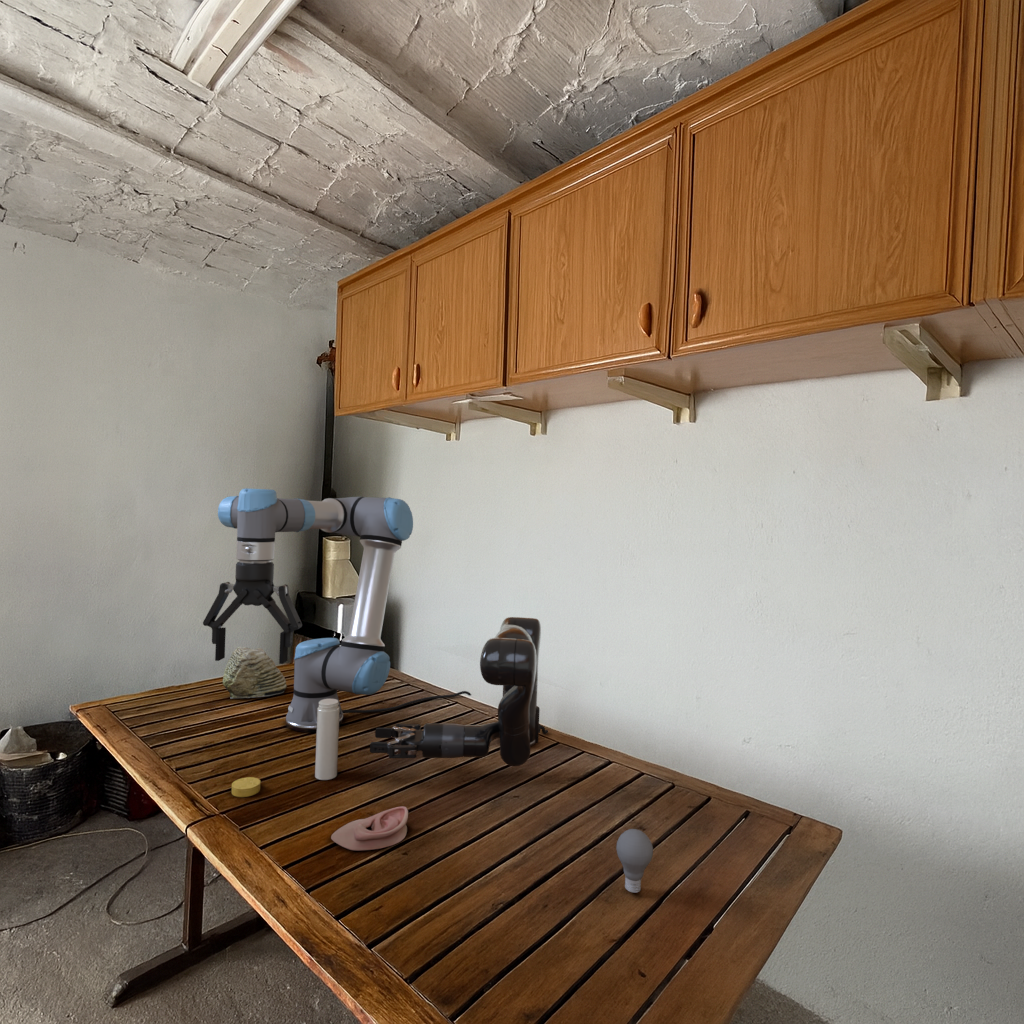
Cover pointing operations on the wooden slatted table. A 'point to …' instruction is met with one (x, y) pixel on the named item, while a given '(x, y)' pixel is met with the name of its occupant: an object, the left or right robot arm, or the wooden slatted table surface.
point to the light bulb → (634, 857)
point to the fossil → (252, 674)
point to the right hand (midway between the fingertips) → (372, 739)
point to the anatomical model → (374, 830)
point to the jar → (327, 739)
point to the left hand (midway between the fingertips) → (251, 660)
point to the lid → (245, 787)
